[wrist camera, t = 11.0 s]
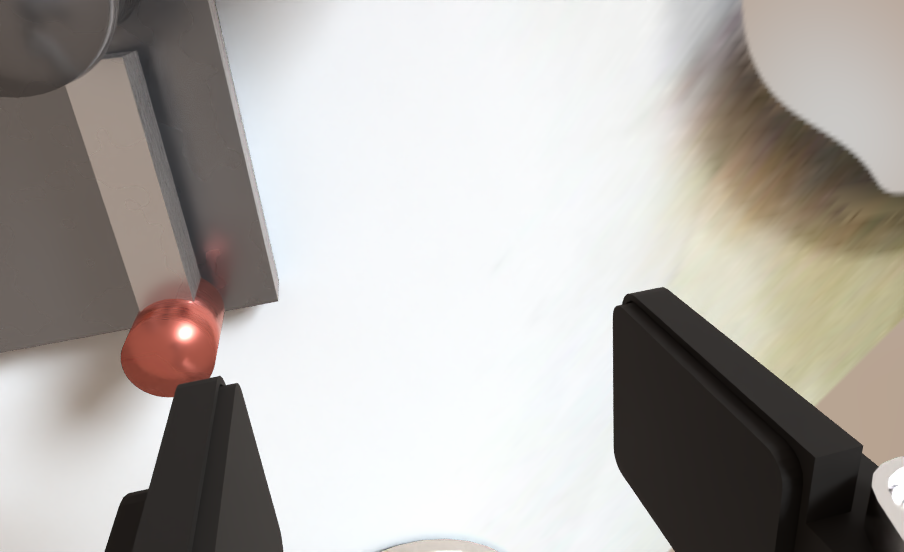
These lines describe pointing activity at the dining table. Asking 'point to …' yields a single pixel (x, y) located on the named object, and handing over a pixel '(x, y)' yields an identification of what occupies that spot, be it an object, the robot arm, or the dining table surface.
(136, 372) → the lever
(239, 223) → the press bed
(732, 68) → the dining table surface
